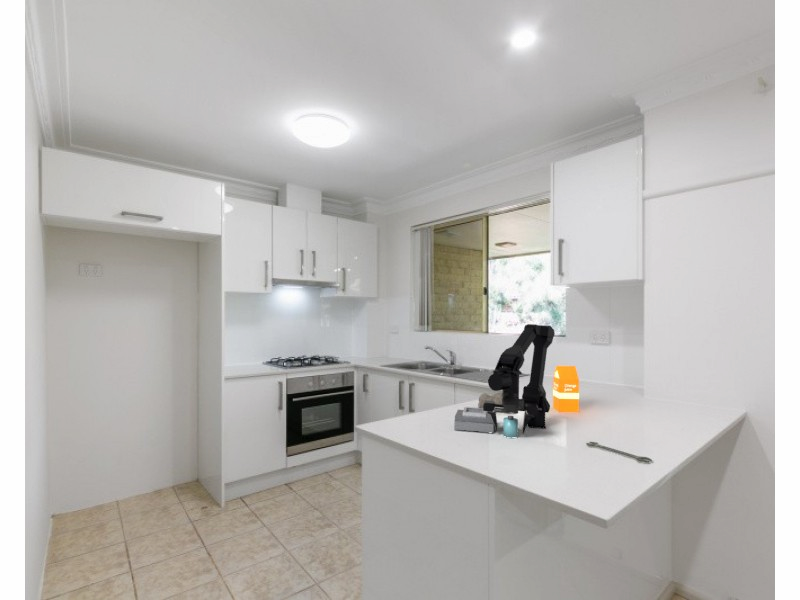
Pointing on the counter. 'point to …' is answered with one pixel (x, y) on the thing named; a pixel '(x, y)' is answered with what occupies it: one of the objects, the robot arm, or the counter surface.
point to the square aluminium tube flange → (473, 420)
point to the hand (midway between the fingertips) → (509, 432)
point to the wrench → (620, 453)
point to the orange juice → (566, 389)
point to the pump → (510, 426)
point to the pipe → (495, 397)
